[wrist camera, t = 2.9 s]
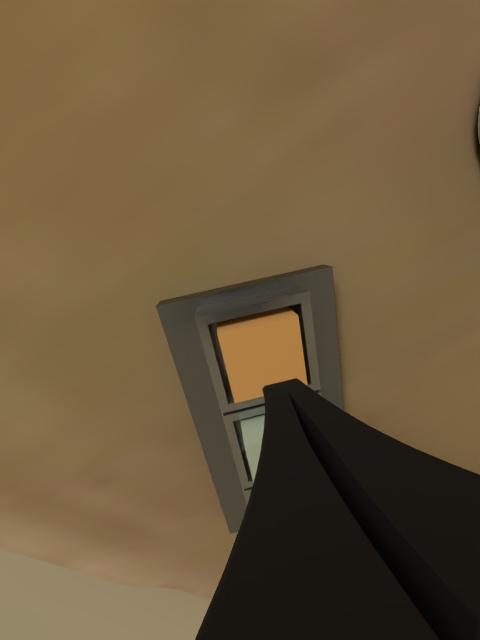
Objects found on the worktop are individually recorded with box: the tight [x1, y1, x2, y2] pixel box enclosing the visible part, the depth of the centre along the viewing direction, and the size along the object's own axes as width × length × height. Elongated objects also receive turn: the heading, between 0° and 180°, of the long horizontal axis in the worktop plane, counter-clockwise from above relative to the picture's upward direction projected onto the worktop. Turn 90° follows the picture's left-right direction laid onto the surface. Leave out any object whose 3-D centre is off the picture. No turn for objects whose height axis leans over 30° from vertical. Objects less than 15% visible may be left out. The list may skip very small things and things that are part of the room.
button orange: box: [217, 306, 308, 403], centre depth 13 cm, size 4×4×2 cm
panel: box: [156, 265, 344, 534], centre depth 16 cm, size 19×10×3 cm, turn 12°
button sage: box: [240, 414, 265, 483], centre depth 14 cm, size 4×4×2 cm
